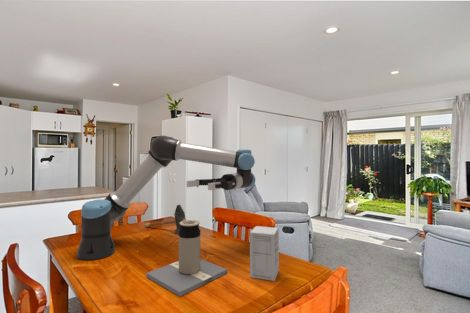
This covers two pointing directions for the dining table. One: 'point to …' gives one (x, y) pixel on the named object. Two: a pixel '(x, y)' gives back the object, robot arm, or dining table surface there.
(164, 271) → the board
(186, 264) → the travel mug
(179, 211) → the hammer
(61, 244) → the dining table surface
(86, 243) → the robot arm
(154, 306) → the dining table surface
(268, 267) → the supplement box
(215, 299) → the dining table surface
